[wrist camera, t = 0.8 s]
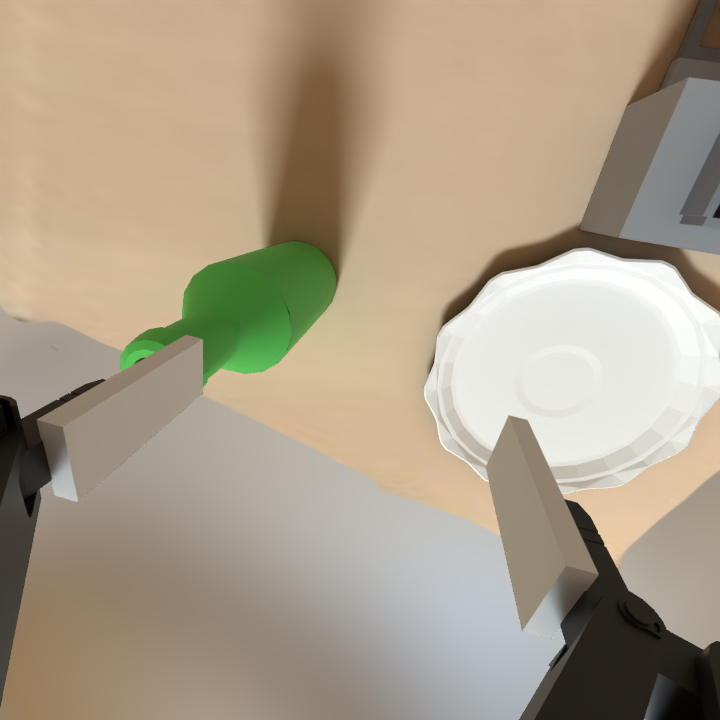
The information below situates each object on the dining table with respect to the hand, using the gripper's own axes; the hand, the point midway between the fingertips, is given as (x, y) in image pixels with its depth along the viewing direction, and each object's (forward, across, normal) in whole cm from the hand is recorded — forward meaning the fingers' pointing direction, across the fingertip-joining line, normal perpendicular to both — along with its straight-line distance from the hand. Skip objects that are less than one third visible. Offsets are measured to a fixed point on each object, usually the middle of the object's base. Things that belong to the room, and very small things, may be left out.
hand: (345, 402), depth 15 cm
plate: (+27, +21, -7) cm, 35 cm away
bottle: (+27, -10, -3) cm, 29 cm away
